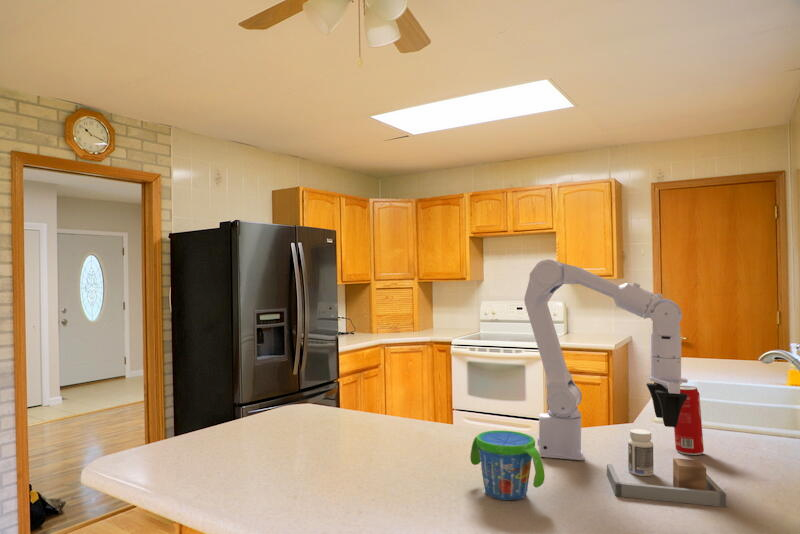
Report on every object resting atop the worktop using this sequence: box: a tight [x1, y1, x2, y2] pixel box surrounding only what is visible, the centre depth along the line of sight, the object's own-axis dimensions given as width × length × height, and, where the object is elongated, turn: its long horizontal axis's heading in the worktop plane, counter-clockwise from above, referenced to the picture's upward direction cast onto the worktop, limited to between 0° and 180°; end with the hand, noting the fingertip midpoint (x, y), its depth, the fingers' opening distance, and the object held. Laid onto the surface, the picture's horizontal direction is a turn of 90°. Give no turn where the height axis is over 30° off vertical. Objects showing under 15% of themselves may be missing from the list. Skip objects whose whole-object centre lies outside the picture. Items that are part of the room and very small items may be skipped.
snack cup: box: [469, 430, 545, 501], centre depth 97 cm, size 16×10×10 cm
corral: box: [606, 463, 727, 508], centre depth 100 cm, size 18×11×2 cm, turn 76°
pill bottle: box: [627, 428, 654, 477], centre depth 109 cm, size 5×5×8 cm
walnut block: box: [672, 457, 707, 490], centre depth 99 cm, size 4×4×6 cm
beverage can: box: [673, 385, 705, 456], centre depth 124 cm, size 6×6×15 cm
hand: (665, 421), depth 111 cm, fingers open, 7 cm apart
